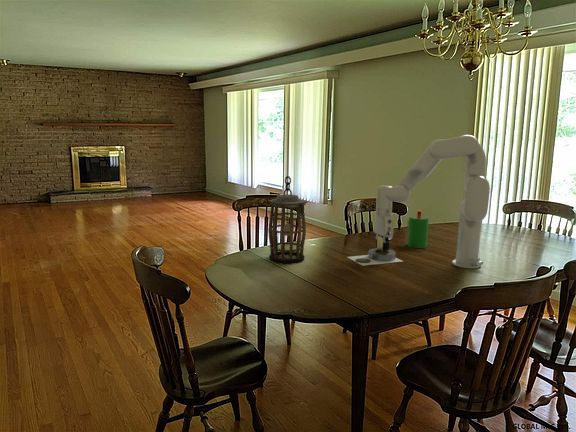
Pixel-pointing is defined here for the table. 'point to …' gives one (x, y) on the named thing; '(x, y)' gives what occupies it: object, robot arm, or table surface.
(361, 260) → the base plate
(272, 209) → the lantern
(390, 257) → the ring
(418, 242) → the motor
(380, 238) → the brass round-ended cylinder
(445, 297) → the table surface
